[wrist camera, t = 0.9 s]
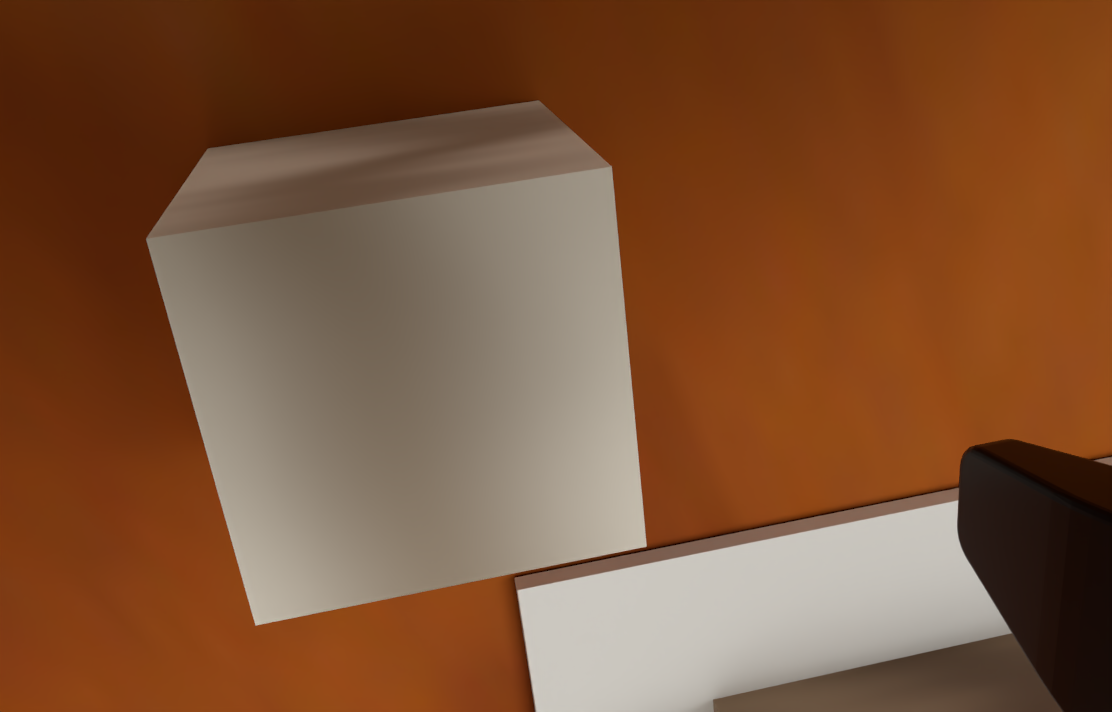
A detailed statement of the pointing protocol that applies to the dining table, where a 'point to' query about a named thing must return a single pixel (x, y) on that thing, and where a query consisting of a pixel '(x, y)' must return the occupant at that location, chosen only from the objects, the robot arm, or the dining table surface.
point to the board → (753, 609)
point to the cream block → (406, 354)
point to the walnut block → (915, 685)
